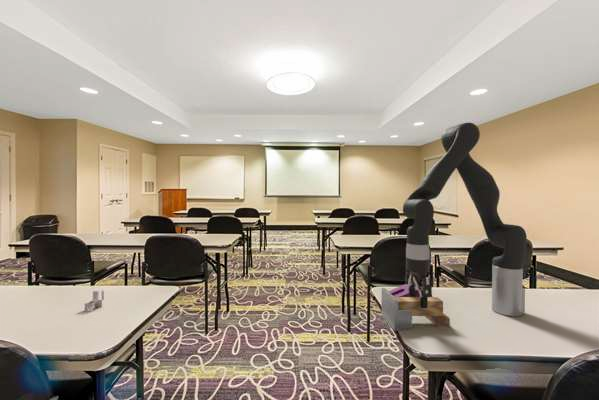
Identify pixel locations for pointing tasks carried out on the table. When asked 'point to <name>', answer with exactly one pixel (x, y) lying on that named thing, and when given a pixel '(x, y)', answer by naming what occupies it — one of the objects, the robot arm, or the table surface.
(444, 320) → the rest block
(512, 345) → the table surface
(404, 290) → the mounting bracket
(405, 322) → the bracket
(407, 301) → the rail
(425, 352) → the table surface
